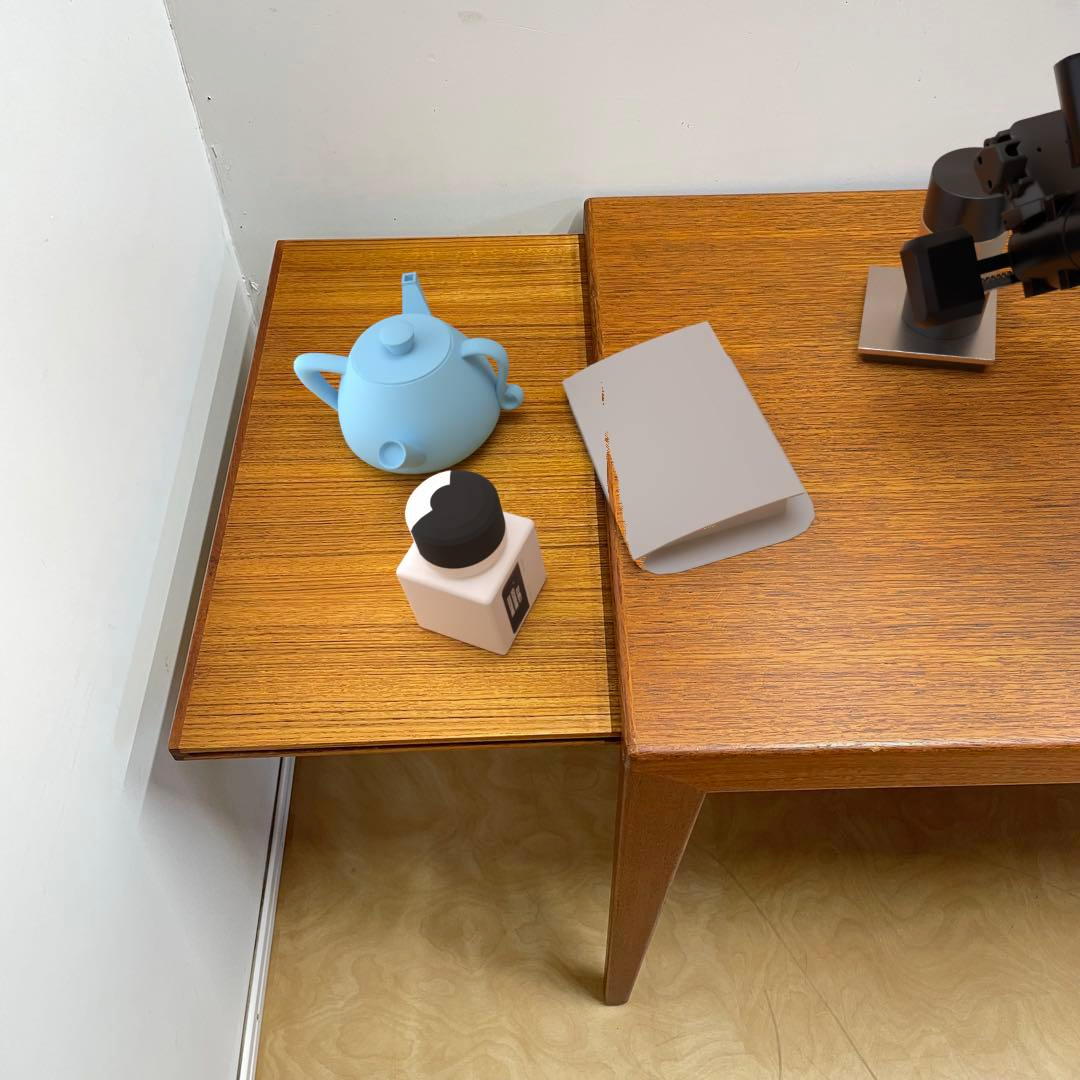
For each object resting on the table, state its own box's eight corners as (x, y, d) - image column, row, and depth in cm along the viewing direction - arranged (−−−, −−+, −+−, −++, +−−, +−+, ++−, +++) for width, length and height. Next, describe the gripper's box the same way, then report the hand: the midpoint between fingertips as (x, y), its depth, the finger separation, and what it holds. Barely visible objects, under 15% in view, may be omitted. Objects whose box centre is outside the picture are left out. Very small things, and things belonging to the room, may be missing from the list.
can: (960, 350, 84) (1000, 209, 72) (887, 322, 87) (914, 182, 75) (996, 305, 86) (1041, 161, 75) (924, 278, 89) (956, 137, 78)
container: (548, 577, 78) (524, 471, 67) (506, 658, 74) (473, 559, 64) (463, 550, 81) (427, 445, 70) (417, 627, 77) (372, 528, 66)
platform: (989, 377, 84) (995, 360, 82) (855, 364, 87) (858, 348, 85) (992, 291, 90) (997, 274, 88) (866, 282, 93) (869, 265, 91)
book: (719, 339, 91) (720, 306, 88) (827, 528, 77) (832, 497, 74) (560, 385, 90) (555, 354, 87) (639, 584, 76) (636, 555, 73)
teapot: (297, 450, 90) (253, 359, 81) (429, 339, 96) (402, 244, 87) (414, 529, 82) (380, 439, 74) (548, 403, 89) (532, 307, 80)
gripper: (1224, 62, 61) (1071, 134, 77) (938, 138, 60) (842, 196, 76) (1254, 241, 63) (1098, 277, 78) (975, 319, 62) (873, 339, 77)
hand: (978, 269), depth 77 cm, fingers open, 9 cm apart
